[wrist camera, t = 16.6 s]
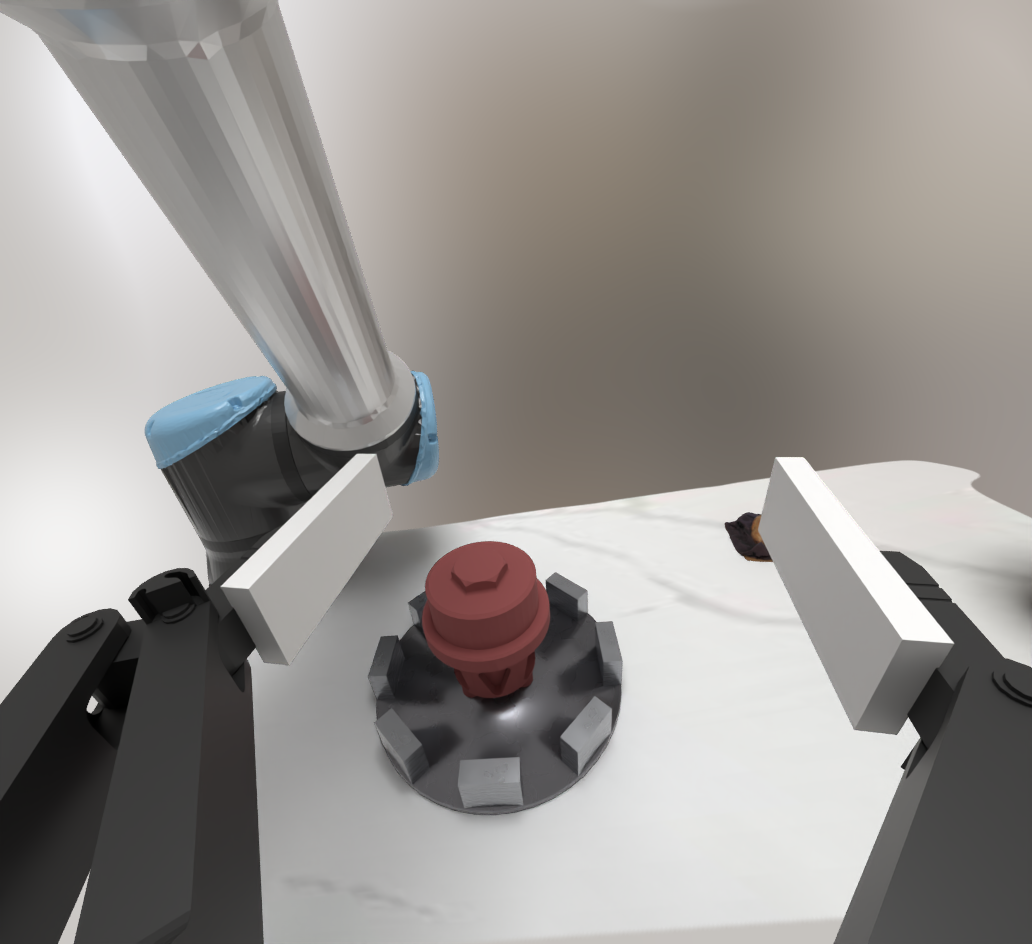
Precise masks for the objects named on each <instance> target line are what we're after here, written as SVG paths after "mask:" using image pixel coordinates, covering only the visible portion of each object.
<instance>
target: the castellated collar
mask: <svg viewBox="0 0 1032 944" xmlns="http://www.w3.org/2000/svg"><path fill="white" fill-rule="evenodd" d="M546 592H547V594H548V598H549V607H550V623H549V627H548V631H547V633H546V635H545V637H544V639H543V641H542V642H541V644H540V645H539V646H538V647H537V648H536V649H535V666H534V669H533V681H532V683H531V684H530V685H529V686H527V687H520V688H519V689H518V690H516V691H514V692H513V693H510V694H508V695H506V696H502V697H497V698H483V697H479V696H476V697H472V698H471V697H467V696H465V695H464V693H463V690H462V686H461V685H460V684H459V682H458V680H457V678H456V675H455V672H454V668H452V667H450V666H448V665H446V664H445V663H443V662H442V661H441V660H439V659H438V658H437V657H436V656H435V655H434V654H433V653H432V651H431V649H430V648H429V646H428V643H427V641H426V637H425V634H424V630H423V626H422V614H423V609H424V606H425V604H426V601H427V596H426V591H424V592H423V593H422V594H420V595H419V596H417V597H416V598H414V599H413V600H411V601H410V602H408V605H409V609H410V612H411V616H412V619H413V623H414V625H413V626H412V627H411V628H410V629H409V630H408V631H407V632H406V634H405V635H404V636H403V637H402V639H401V640H400V641H399V639H398V635H397V636H382V637H381V638H380V641H379V644H378V647H377V650H376V653H375V656H374V659H373V663H372V666H371V669H370V672H369V675H368V678H369V681H370V683H371V686H372V688H373V691H374V694H375V696H376V699H377V706H376V710H377V721H375V722H374V724H375V726H376V729H377V731H378V733H379V736H380V738H381V741H382V743H383V746H384V747H385V750H386V752H387V755H388V757H389V759H390V760H391V762H392V764H393V765H394V767H395V769H396V770H397V772H398V773H399V774H400V775H401V776H402V777H403V779H404V780H405V781H406V782H407V783H408V784H409V785H410V786H411V787H412V788H414V789H415V790H416V791H417V792H419V793H420V794H421V795H422V796H424V797H426V798H428V799H430V800H431V801H433V802H435V803H437V804H439V805H441V806H444V807H447V808H450V809H452V810H455V811H460V812H465V813H471V814H484V815H497V814H505V813H513V812H518V811H521V810H525V809H528V808H532V807H535V806H537V805H540V804H542V803H544V802H546V801H548V800H551V799H553V798H555V797H556V796H558V795H559V794H561V793H562V792H564V791H566V790H567V789H569V788H570V787H571V786H573V785H574V784H575V783H576V782H577V781H578V780H580V779H581V778H582V777H583V776H584V775H585V774H586V773H587V772H588V771H589V770H590V768H591V767H592V766H593V765H594V764H595V763H596V762H597V760H598V759H599V757H600V756H601V754H602V753H603V751H604V749H605V748H606V746H607V745H608V742H609V740H610V738H611V736H612V734H613V731H614V729H615V726H616V722H617V718H618V715H619V709H620V702H621V681H622V657H621V653H620V649H619V645H618V641H617V637H616V633H615V629H614V626H613V622H612V621H610V622H596V621H595V620H594V618H593V617H591V616H590V615H589V614H588V591H587V590H586V589H584V588H582V587H580V586H579V585H577V584H575V583H573V582H572V581H570V580H568V579H566V578H565V577H563V576H561V575H559V574H558V573H556V572H555V573H554V574H553V575H552V576H550V577H549V578H548V579H547V580H546Z"/></svg>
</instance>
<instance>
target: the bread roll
mask: <svg viewBox="0 0 1032 944" xmlns="http://www.w3.org/2000/svg"><path fill="white" fill-rule="evenodd" d="M760 519H761V514H754V513H750V512H748V513H745V514H743V515H742V516H740V517H739V518H738V519H737V520H736V521H734V522H730V523H729V522H726V523H725V528H726V530H727V532H728V533H729V536H730V538H731V540H732V542H733V545H734V547H735V549H736V550H737V551H738V552H739V553H740V554H741V555H743V556H744V557H745V559H746V560H748V561H750V560H751V561H760V562H773V560H772V558H771V556H770V554H769V552H768V550H767V548H766V546H765V544H764V542H763V539H762V537H761V535H760V533H759V531H758V528H759V523H760Z"/></svg>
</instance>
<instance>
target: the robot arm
mask: <svg viewBox="0 0 1032 944" xmlns="http://www.w3.org/2000/svg"><path fill="white" fill-rule="evenodd" d="M0 12H1V13H3V14H5V15H7V16H8V17H10V18H12V19H14V20H16V21H18V22H20V23H22V24H23V25H25V26H28V27H29V28H31V29H32V30H33V31H34V32H36V33H37V34H38V35H39V37H40V38H41V40H42V41H43V42H44V44H45V45H46V47H47V48H48V50H49V51H50V52H51V54H52V55H53V57H54V58H55V59H56V61H57V62H58V64H59V65H60V67H61V68H62V69H63V71H64V72H65V74H66V75H67V76H68V78H69V79H70V81H71V82H72V84H73V85H74V86H75V88H76V89H77V91H78V92H79V93H80V95H81V96H82V98H83V99H84V101H85V102H86V103H87V105H88V106H89V108H90V109H91V111H92V112H93V113H94V115H95V116H96V118H97V119H98V121H99V122H100V123H101V125H102V126H103V128H104V129H105V130H106V132H107V133H108V134H109V136H110V138H111V139H112V140H113V142H114V143H115V145H116V146H117V147H118V149H119V150H120V152H121V153H122V155H123V156H124V157H125V159H126V160H127V162H128V163H129V164H130V166H131V167H132V169H133V170H134V172H135V173H136V174H137V176H138V177H139V178H140V180H141V182H142V183H143V184H144V186H145V187H146V189H147V190H148V191H149V193H150V194H151V196H152V197H153V198H154V200H155V201H156V203H157V204H158V205H159V207H160V208H161V210H162V211H163V213H164V214H165V216H166V217H167V218H168V220H169V221H170V223H171V224H172V225H173V227H174V228H175V230H176V231H177V233H178V234H179V235H180V237H181V238H182V240H183V241H184V243H185V244H186V245H187V247H188V248H189V249H190V251H191V252H192V254H193V255H194V257H195V258H196V260H197V261H198V262H199V264H200V265H201V267H202V268H203V269H204V271H205V272H206V273H207V275H208V277H209V278H210V279H211V281H212V282H213V284H214V285H215V286H216V288H217V289H218V291H219V292H220V294H221V295H222V296H223V298H224V299H225V301H226V302H227V303H228V305H229V306H230V308H231V309H232V311H233V312H234V313H235V315H236V316H237V318H238V319H239V320H240V322H241V323H242V325H243V326H244V328H245V329H246V330H247V332H248V333H249V334H250V336H251V338H252V339H253V340H254V342H255V343H256V345H257V346H258V347H259V349H260V350H261V352H262V353H263V354H264V356H265V357H266V359H267V360H268V362H269V363H270V364H271V366H272V367H273V369H274V370H275V372H276V373H277V374H278V376H279V377H280V379H281V380H282V382H283V383H284V384H285V386H286V387H287V389H286V391H282V392H278V391H276V389H277V387H276V384H274V383H273V382H272V380H271V379H270V378H268V377H265V376H260V377H256V376H254V377H246V378H242V379H238V380H234V381H230V382H226V383H223V384H219V385H216V386H213V387H210V388H207V389H204V390H202V391H199V392H196V393H194V394H191V395H189V396H186V397H184V398H182V399H179V400H177V401H175V402H173V403H171V404H169V405H167V406H165V407H164V408H162V409H160V410H159V411H157V412H156V413H155V414H154V415H153V416H151V417H150V419H149V420H148V422H147V424H146V426H145V436H146V438H147V441H148V443H149V446H150V448H151V450H152V452H153V455H154V457H155V460H156V462H157V463H156V465H157V467H158V469H161V470H162V472H163V474H164V476H165V478H166V479H167V481H168V483H169V485H170V486H171V488H172V490H173V492H174V493H175V495H176V497H177V499H178V501H179V502H180V504H181V506H182V508H183V509H184V511H185V513H186V515H187V516H188V518H189V520H190V522H191V523H192V525H193V527H194V529H195V531H196V532H197V534H198V536H199V538H200V539H201V541H202V543H203V545H204V547H205V549H206V557H207V569H208V579H209V588H207V589H206V590H205V589H204V587H203V586H202V584H201V583H200V581H199V580H198V578H197V576H196V574H195V573H194V571H193V570H190V569H188V568H177V569H173V570H170V571H165V572H163V573H161V574H158V575H156V576H154V577H152V578H151V579H149V580H147V581H146V582H144V583H142V584H141V585H140V586H139V587H138V588H137V589H136V590H134V591H133V592H132V594H131V596H130V597H129V599H128V600H129V602H130V603H131V604H132V606H133V607H134V608H135V610H136V611H137V613H138V614H139V615H140V617H141V618H142V619H141V620H135V621H130V622H126V621H125V620H124V618H123V617H122V615H121V614H120V613H119V612H118V611H117V610H115V609H111V608H110V609H102V610H98V611H95V612H92V613H88V614H86V615H83V616H81V617H79V618H77V619H75V620H74V621H72V622H71V623H70V624H68V625H67V626H65V627H64V628H63V629H61V630H60V631H59V632H58V633H57V634H56V635H55V636H54V637H53V638H52V640H51V641H50V642H49V643H48V645H47V646H46V647H45V649H44V650H43V651H42V652H41V654H40V655H39V656H38V657H37V659H36V660H35V661H34V662H33V664H32V665H31V666H30V668H29V669H28V670H27V671H26V673H25V674H24V675H23V676H22V678H21V679H20V680H19V682H18V683H17V684H16V685H15V687H14V688H13V689H12V690H11V692H10V693H9V694H8V695H7V697H6V698H5V699H4V701H3V702H2V703H1V704H0V944H58V942H59V940H60V937H61V935H62V933H63V930H64V928H65V926H66V924H67V922H68V919H69V917H70V915H71V912H72V910H73V908H74V906H75V903H76V901H77V898H78V897H79V894H80V892H81V890H82V887H83V885H84V883H85V881H86V878H87V876H88V874H89V872H90V875H89V879H88V884H87V888H86V892H85V897H84V902H83V906H82V910H81V914H80V919H79V923H78V927H77V932H76V936H75V941H74V944H264V941H263V919H262V897H261V875H260V853H259V832H258V810H257V788H256V766H255V744H254V722H253V700H252V678H251V667H250V664H249V662H248V660H247V658H248V656H249V655H250V654H251V653H252V651H253V650H254V649H255V648H256V649H257V651H258V653H259V655H260V656H261V658H262V660H263V662H264V663H273V664H282V665H290V664H291V662H292V661H293V660H294V658H295V657H296V655H297V654H298V652H299V651H300V650H301V648H302V647H303V645H304V644H305V642H306V641H307V639H308V638H309V637H310V635H311V634H312V632H313V631H314V629H315V628H316V627H317V625H318V624H319V622H320V621H321V619H322V618H323V617H324V615H325V614H326V612H327V611H328V609H329V608H330V606H331V605H332V604H333V602H334V601H335V599H336V598H337V596H338V595H339V594H340V592H341V591H342V589H343V588H344V586H345V585H346V584H347V582H348V581H349V579H350V578H351V576H352V575H353V573H354V572H355V571H356V569H357V568H358V566H359V565H360V563H361V562H362V561H363V559H364V558H365V556H366V555H367V553H368V552H369V550H370V549H371V548H372V546H373V545H374V543H375V542H376V540H377V539H378V538H379V536H380V535H381V533H382V532H383V530H384V529H385V528H386V526H387V525H388V523H389V522H390V520H391V519H392V517H393V513H392V509H391V506H390V502H389V498H388V495H387V491H386V487H390V486H396V485H402V486H406V485H409V484H411V483H412V482H416V481H421V480H425V479H428V478H430V477H432V476H433V475H434V474H435V472H436V470H437V468H438V462H439V447H438V438H437V422H436V413H435V406H434V399H433V394H432V389H431V385H430V381H429V379H428V377H427V375H425V374H424V373H422V372H415V371H410V370H409V368H408V366H407V365H406V364H405V363H404V362H403V360H401V359H400V358H399V357H398V356H397V355H395V354H394V353H392V352H390V351H388V350H387V347H386V344H385V341H384V338H383V335H382V332H381V328H380V325H379V322H378V319H377V316H376V313H375V309H374V306H373V303H372V300H371V297H370V293H369V291H368V287H367V284H366V281H365V278H364V274H363V271H362V268H361V265H360V262H359V259H358V255H357V253H356V249H355V246H354V243H353V240H352V236H351V233H350V231H349V227H348V224H347V220H346V217H345V214H344V211H343V208H342V205H341V201H340V198H339V195H338V192H337V189H336V186H335V183H334V179H333V176H332V173H331V170H330V167H329V163H328V160H327V157H326V154H325V151H324V148H323V144H322V141H321V138H320V135H319V132H318V129H317V126H316V122H315V119H314V116H313V113H312V109H311V106H310V103H309V100H308V97H307V94H306V90H305V87H304V84H303V81H302V78H301V75H300V72H299V69H298V65H297V62H296V60H295V56H294V52H293V50H292V46H291V43H290V40H289V37H288V34H287V30H286V27H285V24H284V21H283V18H282V14H281V11H280V8H279V5H278V0H0ZM758 531H759V533H760V535H761V537H762V539H763V542H764V544H765V546H766V548H767V550H768V552H769V554H770V556H771V558H772V560H773V562H774V564H775V566H776V569H777V571H778V573H779V575H780V577H781V579H782V581H783V583H784V585H785V587H786V589H787V591H788V593H789V596H790V598H791V600H792V602H793V604H794V606H795V608H796V610H797V612H798V614H799V616H800V618H801V620H802V623H803V625H804V627H805V629H806V631H807V633H808V635H809V637H810V639H811V641H812V643H813V645H814V647H815V650H816V652H817V654H818V656H819V658H820V660H821V662H822V664H823V666H824V668H825V670H826V672H827V674H828V677H829V679H830V681H831V683H832V685H833V687H834V689H835V691H836V693H837V695H838V697H839V699H840V701H841V704H842V706H843V708H844V710H845V712H846V714H847V716H848V718H849V720H850V722H851V724H852V726H853V728H854V730H859V731H868V732H877V733H886V734H895V735H897V734H898V733H899V731H900V729H901V728H902V726H903V725H904V723H905V721H906V720H907V718H908V717H909V719H910V721H911V722H912V724H913V725H914V727H915V729H916V730H917V732H918V734H919V735H920V737H921V738H920V739H919V740H918V742H917V743H916V745H915V746H914V748H913V749H912V751H911V752H910V754H909V755H908V757H907V758H906V760H905V761H904V763H903V764H902V766H901V768H903V769H904V770H905V771H904V773H903V776H902V778H901V781H900V783H899V786H898V788H897V790H896V793H895V795H894V798H893V800H892V803H891V805H890V807H889V810H888V812H887V815H886V817H885V820H884V822H883V825H882V827H881V829H880V832H879V834H878V837H877V839H876V842H875V844H874V846H873V849H872V851H871V854H870V856H869V859H868V861H867V864H866V866H865V868H864V871H863V873H862V876H861V878H860V881H859V883H858V886H857V888H856V890H855V893H854V895H853V898H852V900H851V903H850V905H849V907H848V910H847V912H846V915H845V917H844V920H843V922H842V925H841V927H840V929H839V932H838V934H837V937H836V939H835V942H834V944H1032V668H1031V667H1029V666H1027V665H1024V664H1021V663H1018V662H1016V661H1013V660H1010V659H1005V658H1004V657H1003V656H1002V655H1001V654H1000V653H999V651H998V650H997V649H996V648H995V647H994V646H993V645H992V644H991V643H990V641H989V640H988V639H987V638H986V637H985V636H984V635H983V634H982V633H981V631H980V630H979V629H978V628H977V627H976V626H975V625H974V624H973V622H972V621H971V620H970V619H969V618H968V617H967V616H966V615H965V614H964V612H963V611H962V610H961V609H960V608H959V607H958V606H957V605H956V604H955V603H952V599H951V598H950V597H949V596H948V595H947V593H946V592H945V591H944V590H943V589H942V588H939V585H938V583H937V582H936V581H935V580H934V579H933V578H932V577H931V576H930V574H929V573H928V572H927V571H926V570H925V569H924V568H923V567H922V566H920V565H919V564H917V563H916V562H914V561H913V560H911V559H910V558H908V557H907V556H905V555H904V554H902V553H901V552H893V551H879V550H878V549H877V547H876V546H875V545H874V544H873V543H872V541H871V540H870V539H869V538H868V536H867V535H866V534H865V533H864V531H863V530H862V529H861V528H860V526H859V525H858V524H857V523H856V522H855V520H854V519H853V518H852V517H851V515H850V514H849V513H848V512H847V510H846V509H845V508H844V507H843V506H842V504H841V503H840V502H839V501H838V499H837V498H836V497H835V496H834V494H833V493H832V492H831V491H830V489H829V488H828V487H827V486H826V485H825V483H824V482H823V481H822V480H821V478H820V477H819V476H818V475H817V473H816V472H815V471H814V470H813V468H812V467H811V466H810V465H809V464H808V462H807V461H806V460H805V459H804V458H801V457H800V458H798V457H796V458H795V457H776V458H775V462H774V466H773V470H772V474H771V478H770V482H769V486H768V490H767V495H766V499H765V503H764V507H763V511H762V515H761V519H760V523H759V528H758ZM91 696H93V697H94V698H95V699H96V700H97V702H98V704H97V706H96V708H95V709H94V711H93V712H92V713H88V711H87V705H88V703H89V700H90V698H91ZM90 869H91V870H90Z"/></svg>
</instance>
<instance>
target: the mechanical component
mask: <svg viewBox="0 0 1032 944" xmlns="http://www.w3.org/2000/svg"><path fill="white" fill-rule="evenodd" d="M425 591H426V596H427V601H426V604H425V606H424V609H423V614H422V626H423V630H424V634H425V637H426V641H427V643H428V646H429V648H430V649H431V651H432V653H433V654H434V655H435V656H436V657H437V658H438V659H439V660H441V661H442V662H443V663H445V664H446V665H448V666H450V667H452V668H454V672H455V675H456V678H457V680H458V682H459V684H460V685H461V686H462V690H463V693H464V695H465V696H467V697H471V698H472V697H476V696H479V697H483V698H497V697H502V696H506V695H508V694H510V693H513V692H514V691H516V690H518V689H519V688H520V687H527V686H529V685H530V684H531V683H532V681H533V669H534V666H535V649H536V648H537V647H538V646H539V645H540V644H541V642H542V641H543V639H544V637H545V635H546V633H547V631H548V627H549V623H550V607H549V598H548V594H547V592H546V590H545V588H544V586H543V585H542V583H541V582H540V581H539V580H538V579H537V578H536V569H535V565H534V563H533V561H532V559H531V558H530V557H529V555H527V554H526V553H525V552H524V551H523V550H521V549H519V548H518V547H515V546H513V545H510V544H507V543H502V542H494V541H485V542H476V543H471V544H467V545H464V546H461V547H459V548H457V549H454V550H452V551H451V552H449V553H447V554H446V555H444V556H443V557H442V558H440V559H439V560H438V561H437V562H436V563H435V564H434V566H433V567H432V568H431V570H430V572H429V573H428V576H427V579H426V583H425Z"/></svg>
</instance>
